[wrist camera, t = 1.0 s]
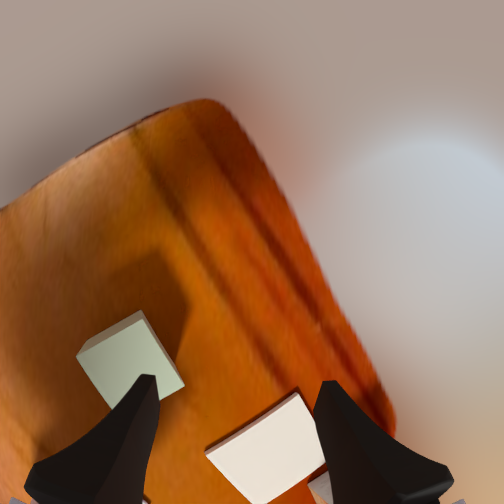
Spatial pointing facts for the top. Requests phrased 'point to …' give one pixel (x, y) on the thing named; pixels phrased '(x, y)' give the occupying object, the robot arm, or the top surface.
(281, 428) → the tile
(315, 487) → the small box
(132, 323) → the cube
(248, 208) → the top surface
